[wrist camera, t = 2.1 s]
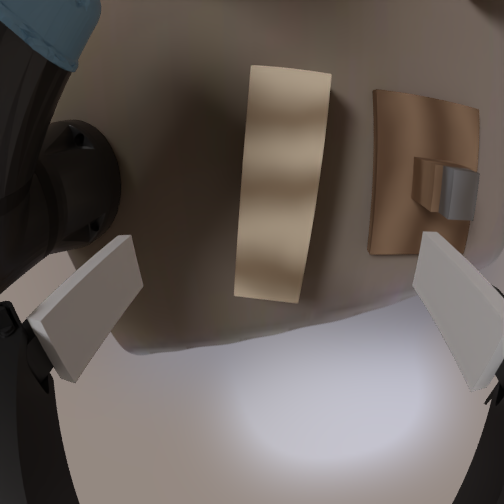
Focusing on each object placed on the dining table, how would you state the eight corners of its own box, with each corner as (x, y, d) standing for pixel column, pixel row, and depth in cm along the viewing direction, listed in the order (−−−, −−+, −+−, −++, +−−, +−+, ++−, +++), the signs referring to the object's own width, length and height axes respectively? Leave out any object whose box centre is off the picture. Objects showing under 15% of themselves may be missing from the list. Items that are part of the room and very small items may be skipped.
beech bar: (296, 276, 31) (297, 303, 27) (241, 269, 32) (233, 295, 27) (322, 82, 22) (331, 74, 18) (256, 75, 23) (251, 65, 18)
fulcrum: (367, 249, 29) (387, 287, 22) (372, 90, 22) (402, 81, 15) (458, 248, 27) (491, 281, 20) (472, 109, 20) (516, 113, 14)
